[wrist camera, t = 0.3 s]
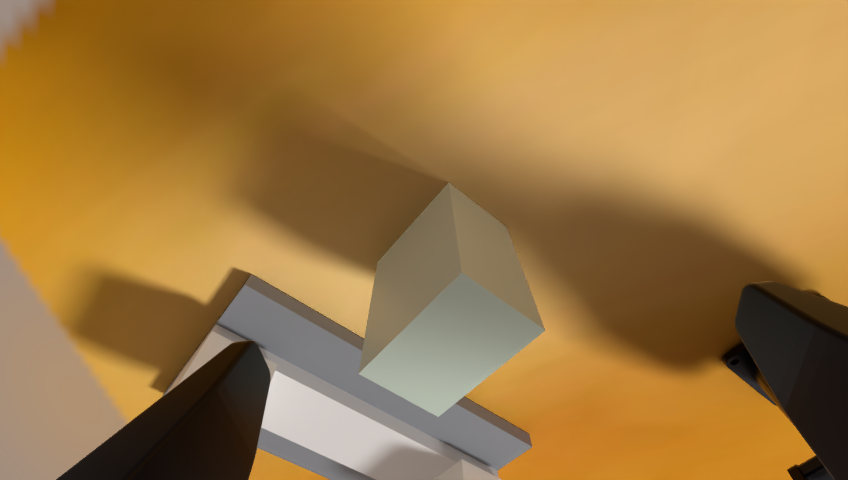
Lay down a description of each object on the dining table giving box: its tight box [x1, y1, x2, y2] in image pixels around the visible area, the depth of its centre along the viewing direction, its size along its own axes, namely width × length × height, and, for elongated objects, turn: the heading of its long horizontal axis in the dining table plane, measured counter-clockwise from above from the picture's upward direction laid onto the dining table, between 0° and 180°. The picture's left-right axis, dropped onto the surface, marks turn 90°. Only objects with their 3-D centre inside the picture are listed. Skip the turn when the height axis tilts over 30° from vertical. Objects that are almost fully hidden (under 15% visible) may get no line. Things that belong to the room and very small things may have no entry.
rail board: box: [162, 274, 532, 480], centre depth 26 cm, size 22×12×7 cm, turn 51°
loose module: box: [358, 182, 545, 417], centre depth 19 cm, size 4×6×8 cm, turn 141°
